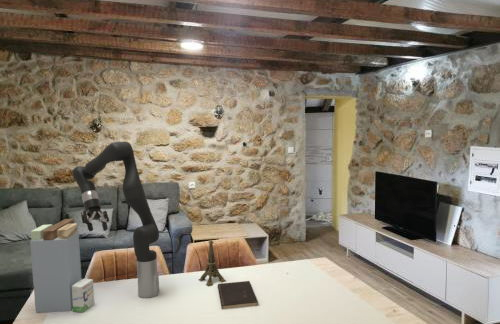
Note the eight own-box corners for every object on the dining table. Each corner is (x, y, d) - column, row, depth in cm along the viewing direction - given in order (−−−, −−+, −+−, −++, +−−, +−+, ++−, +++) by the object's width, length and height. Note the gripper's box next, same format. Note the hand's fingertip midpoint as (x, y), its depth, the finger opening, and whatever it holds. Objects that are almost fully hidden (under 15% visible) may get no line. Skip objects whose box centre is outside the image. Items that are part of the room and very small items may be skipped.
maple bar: (77, 231, 170) (76, 223, 169) (67, 238, 159) (66, 229, 159) (68, 232, 170) (68, 223, 169) (57, 239, 159) (57, 230, 158)
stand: (82, 297, 174) (78, 231, 171) (71, 311, 161) (66, 239, 158) (50, 299, 173) (45, 232, 170) (35, 312, 160) (30, 241, 157)
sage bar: (52, 232, 169) (52, 224, 169) (41, 240, 158) (40, 230, 158) (44, 233, 169) (43, 224, 169) (31, 240, 158) (30, 231, 158)
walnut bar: (74, 226, 179) (73, 218, 179) (53, 240, 158) (52, 231, 157) (65, 227, 179) (65, 218, 179) (43, 240, 157) (42, 231, 157)
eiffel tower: (215, 275, 197) (214, 229, 195) (226, 281, 189) (224, 233, 186) (198, 280, 191) (196, 233, 189) (208, 286, 183) (206, 237, 180)
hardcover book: (249, 285, 184) (249, 280, 184) (258, 306, 162) (257, 301, 162) (217, 288, 182) (217, 283, 182) (221, 310, 159) (221, 305, 159)
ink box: (85, 302, 168) (83, 277, 167) (95, 303, 167) (93, 278, 166) (72, 312, 160) (70, 285, 159) (82, 313, 159) (81, 286, 158)
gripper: (83, 197, 180) (91, 227, 175) (107, 198, 193) (115, 227, 187) (74, 204, 183) (81, 234, 178) (97, 204, 195) (105, 233, 190)
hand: (98, 230), depth 183 cm, fingers open, 8 cm apart
